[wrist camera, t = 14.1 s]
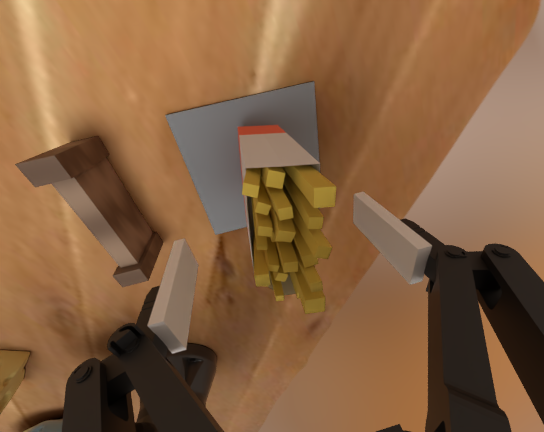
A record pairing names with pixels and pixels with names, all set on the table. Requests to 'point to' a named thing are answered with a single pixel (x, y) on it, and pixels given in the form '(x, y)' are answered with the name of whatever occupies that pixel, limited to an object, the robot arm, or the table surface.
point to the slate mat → (225, 146)
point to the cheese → (11, 374)
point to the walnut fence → (99, 204)
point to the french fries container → (284, 213)
